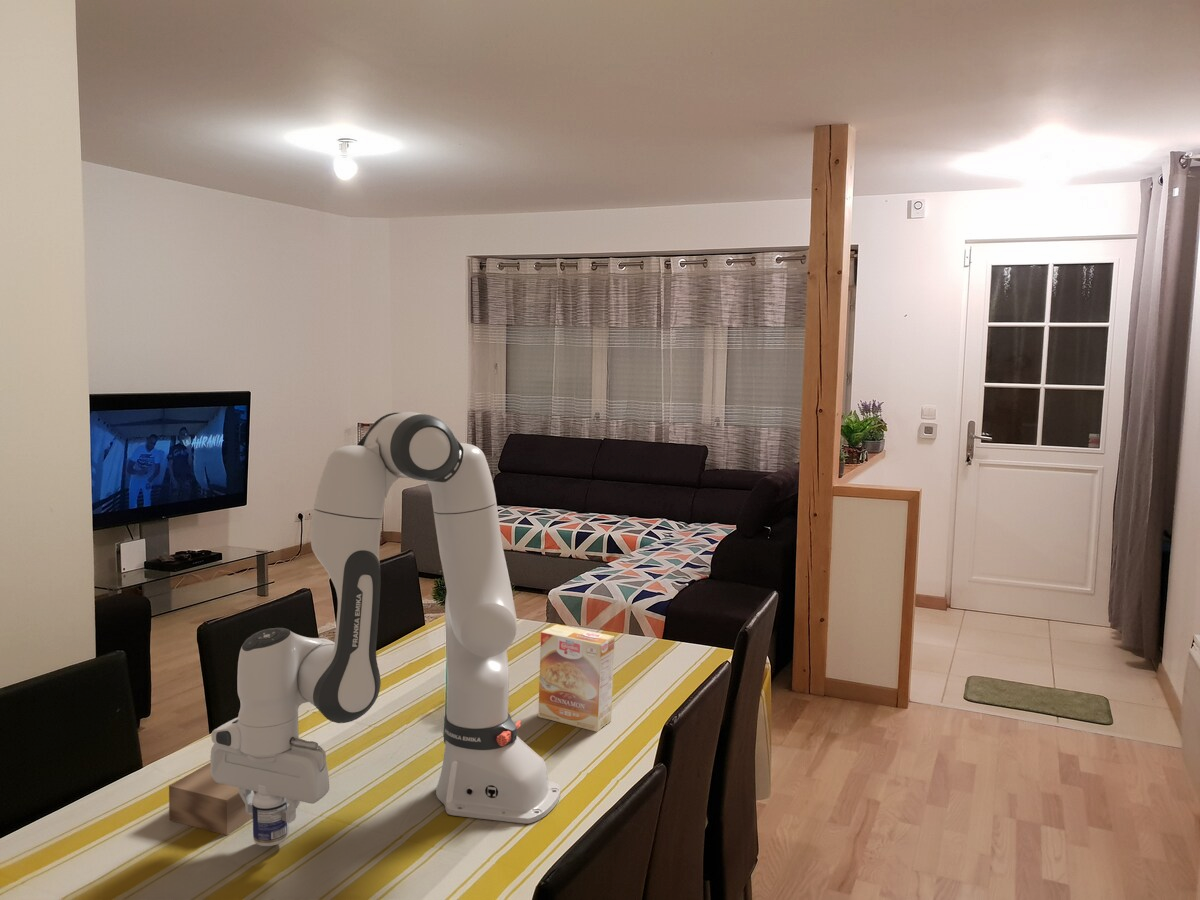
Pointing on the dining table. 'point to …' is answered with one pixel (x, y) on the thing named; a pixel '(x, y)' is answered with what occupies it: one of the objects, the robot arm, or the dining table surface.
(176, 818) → the walnut riser
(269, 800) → the pill bottle
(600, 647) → the coffeecake box
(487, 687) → the robot arm
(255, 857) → the dining table surface
